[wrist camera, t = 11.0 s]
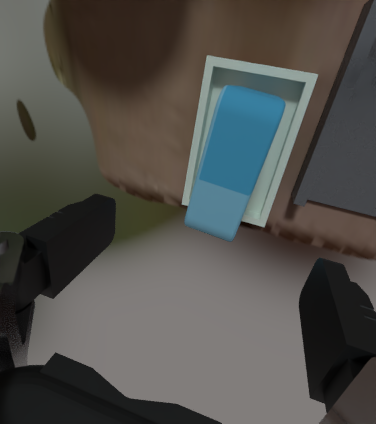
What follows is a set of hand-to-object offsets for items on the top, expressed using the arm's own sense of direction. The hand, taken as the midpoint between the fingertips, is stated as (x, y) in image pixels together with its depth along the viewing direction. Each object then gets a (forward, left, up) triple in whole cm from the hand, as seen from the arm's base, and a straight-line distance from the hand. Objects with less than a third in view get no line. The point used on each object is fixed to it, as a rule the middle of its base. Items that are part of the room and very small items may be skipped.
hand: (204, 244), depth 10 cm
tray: (+1, +1, -23) cm, 23 cm away
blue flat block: (+1, +1, -23) cm, 23 cm away
